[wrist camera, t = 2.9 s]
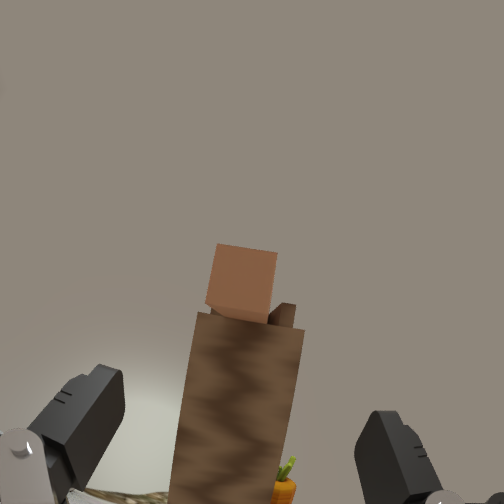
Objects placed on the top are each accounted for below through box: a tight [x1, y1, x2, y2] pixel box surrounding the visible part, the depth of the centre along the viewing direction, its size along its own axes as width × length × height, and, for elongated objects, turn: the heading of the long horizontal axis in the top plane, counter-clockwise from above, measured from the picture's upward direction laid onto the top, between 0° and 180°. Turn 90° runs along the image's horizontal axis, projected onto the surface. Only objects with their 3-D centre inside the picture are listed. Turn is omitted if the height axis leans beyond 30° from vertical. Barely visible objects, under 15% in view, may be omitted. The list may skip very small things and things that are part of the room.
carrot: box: [270, 456, 296, 504], centre depth 33 cm, size 5×5×15 cm
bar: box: [205, 244, 277, 324], centre depth 28 cm, size 4×22×4 cm, turn 178°
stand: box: [167, 303, 305, 504], centre depth 28 cm, size 11×15×34 cm
